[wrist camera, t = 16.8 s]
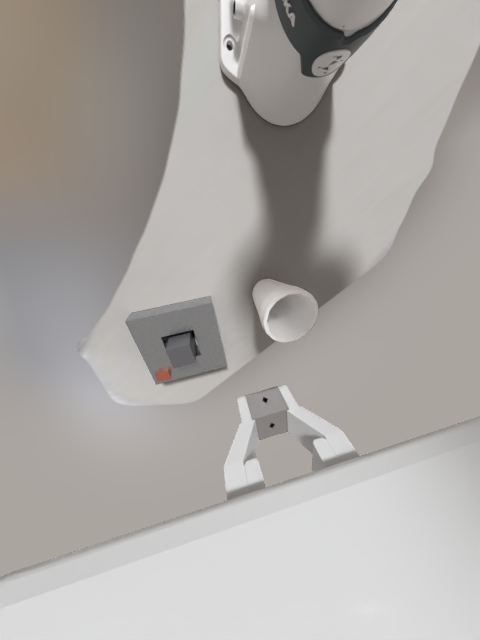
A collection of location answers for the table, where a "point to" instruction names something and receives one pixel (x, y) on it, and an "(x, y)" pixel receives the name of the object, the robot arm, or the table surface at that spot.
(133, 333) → the socket
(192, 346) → the plug
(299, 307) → the foam cup
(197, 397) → the table surface
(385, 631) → the robot arm
